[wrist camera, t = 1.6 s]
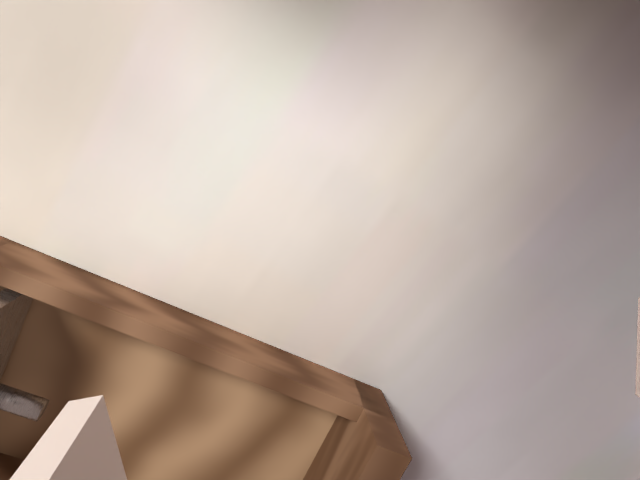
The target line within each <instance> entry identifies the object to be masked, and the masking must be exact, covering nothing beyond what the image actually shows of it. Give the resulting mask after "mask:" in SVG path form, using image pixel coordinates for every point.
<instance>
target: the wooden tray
mask: <svg viewBox="0 0 640 480" xmlns="http://www.w3.org/2000/svg"><path fill="white" fill-rule="evenodd" d="M5 288H8V289H10V290H13V291H16V292H18V293H21V294H23V295H26V296H29V297H31V298H33V301H32V303H31V306H30V308H29V310H28V313H27V315H26V318H25V320H24V323H23V325H22V328H21V330H20V333H19V335H18V338H17V340H16V342H15V345H14V347H13V350H12V352H11V355H10V357H9V360H8V362H7V365H6V367H5V370H4V372H3V374H2V377H1V379H0V383H2V384H5V385H8V386H10V387H13V388H16V389H19V390H22V391H25V392H28V393H31V394H34V395H37V396H40V397H43V398H45V399H48V400H49V403H48V406H47V408H46V410H45V411H44V413H43V415H42V416H41V418H40V419H39V420H38V421H37V422H36V421H33V420H30V419H27V418H24V417H21V416H18V415H15V414H12V413H9V412H6V411H3V410H0V480H10V478H11V477H12V476H13V474H14V473H15V472H16V470H17V469H18V468H19V466H20V465H21V464H22V462H23V461H24V460H25V459H26V457H27V456H28V455H29V453H30V452H31V451H32V449H33V448H34V447H35V445H36V444H37V443H38V441H39V440H40V439H41V437H42V436H43V435H44V433H45V432H46V431H47V429H48V428H49V427H50V425H51V424H52V423H53V421H54V420H55V419H56V417H57V416H58V415H59V413H60V412H61V411H62V409H63V408H64V407H65V405H66V404H67V403H68V401H73V400H78V399H84V398H89V397H95V396H100V395H103V396H104V400H105V403H106V407H107V411H108V414H109V418H110V421H111V425H112V428H113V432H114V435H115V439H116V442H117V446H118V449H119V453H120V456H121V460H122V464H123V467H124V471H125V474H126V478H127V480H400V478H401V477H402V475H403V473H404V471H405V470H406V468H407V466H408V465H409V463H410V461H411V459H412V457H411V455H410V453H409V451H408V448H407V446H406V444H405V442H404V440H403V437H402V435H401V433H400V431H399V429H398V426H397V424H396V422H395V420H394V418H393V415H392V413H391V411H390V409H389V407H388V404H387V402H386V400H385V398H384V395H383V393H382V391H381V390H380V389H377V388H375V387H372V386H370V385H367V384H365V383H362V382H360V381H357V380H355V379H352V378H350V377H348V376H345V375H343V374H340V373H338V372H335V371H333V370H330V369H328V368H325V367H323V366H320V365H318V364H315V363H313V362H310V361H308V360H306V359H303V358H301V357H298V356H296V355H293V354H291V353H288V352H286V351H283V350H281V349H278V348H276V347H273V346H271V345H268V344H266V343H263V342H261V341H259V340H256V339H254V338H251V337H249V336H246V335H244V334H241V333H239V332H236V331H234V330H231V329H229V328H226V327H224V326H221V325H219V324H217V323H214V322H212V321H209V320H207V319H204V318H202V317H199V316H197V315H194V314H192V313H189V312H187V311H184V310H182V309H179V308H177V307H175V306H172V305H170V304H167V303H165V302H162V301H160V300H157V299H155V298H152V297H150V296H147V295H145V294H142V293H140V292H137V291H135V290H132V289H130V288H128V287H125V286H123V285H120V284H118V283H115V282H113V281H110V280H108V279H105V278H103V277H100V276H98V275H95V274H93V273H90V272H88V271H86V270H83V269H81V268H78V267H76V266H73V265H71V264H68V263H66V262H63V261H61V260H58V259H56V258H53V257H51V256H48V255H46V254H44V253H41V252H39V251H36V250H34V249H31V248H29V247H26V246H24V245H21V244H19V243H16V242H14V241H11V240H9V239H6V238H4V237H2V236H0V291H2V290H4V289H5Z"/></svg>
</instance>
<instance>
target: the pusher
mask: <svg viewBox="0 0 640 480" xmlns="http://www.w3.org/2000/svg"><path fill="white" fill-rule="evenodd" d="M32 301H33V298H31V297H29V296H26V295H23V294H21V293H18V292H16V291H13V290H10V289H8V288H5V289H4V290H2V291H0V379H1V377H2V374H3V372H4V370H5V367H6V365H7V362H8V360H9V357H10V355H11V352H12V350H13V347H14V345H15V342H16V340H17V338H18V335H19V333H20V330H21V328H22V325H23V323H24V320H25V318H26V315H27V313H28V310H29V308H30V306H31V303H32ZM48 403H49V400H48V399H45V398H43V397H40V396H37V395H34V394H31V393H28V392H25V391H22V390H19V389H16V388H13V387H10V386H8V385H5V384H2V383H0V410H3V411H6V412H9V413H12V414H15V415H18V416H21V417H24V418H27V419H30V420H33V421H36V422H37V421H38V420H39V419H40V418H41V416H42V415H43V413H44V411H45V410H46V408H47V406H48Z"/></svg>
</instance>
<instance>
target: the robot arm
mask: <svg viewBox="0 0 640 480" xmlns="http://www.w3.org/2000/svg"><path fill="white" fill-rule="evenodd" d="M635 395H637V396H638V397H639V398H640V297H639V298H638V326H637V359H636V392H635ZM10 480H127V478H126V474H125V471H124V467H123V464H122V460H121V456H120V453H119V449H118V446H117V442H116V439H115V435H114V432H113V428H112V425H111V421H110V418H109V414H108V411H107V407H106V403H105V400H104V396H103V395H100V396H95V397H89V398H84V399H78V400H73V401H68V403H67V404H66V405H65V407H64V408H63V409H62V411H61V412H60V413H59V415H58V416H57V417H56V419H55V420H54V421H53V423H52V424H51V425H50V427H49V428H48V429H47V431H46V432H45V433H44V435H43V436H42V437H41V439H40V440H39V441H38V443H37V444H36V445H35V447H34V448H33V449H32V451H31V452H30V453H29V455H28V456H27V457H26V459H25V460H24V461H23V462H22V464H21V465H20V466H19V468H18V469H17V470H16V472H15V473H14V474H13V476H12V477H11V478H10Z"/></svg>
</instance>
